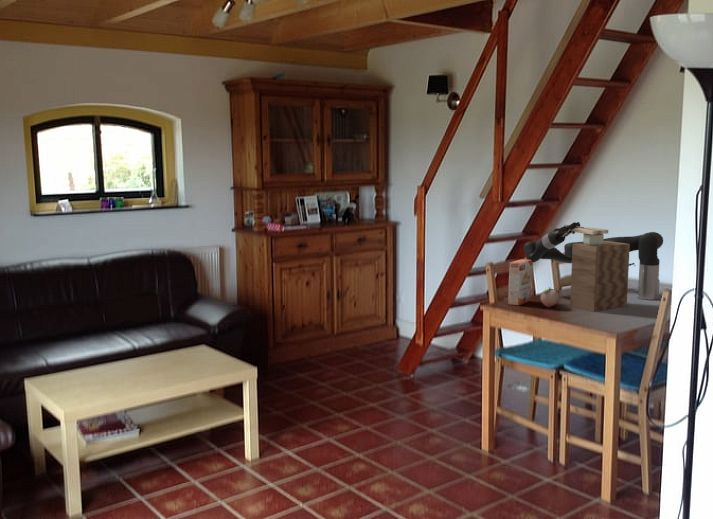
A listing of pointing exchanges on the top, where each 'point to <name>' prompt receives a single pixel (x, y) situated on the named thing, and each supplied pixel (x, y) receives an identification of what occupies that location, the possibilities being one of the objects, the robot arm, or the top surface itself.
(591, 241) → the pale grey block
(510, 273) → the cracker box
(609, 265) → the stand
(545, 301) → the decorative fruit
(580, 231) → the lid
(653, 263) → the robot arm
